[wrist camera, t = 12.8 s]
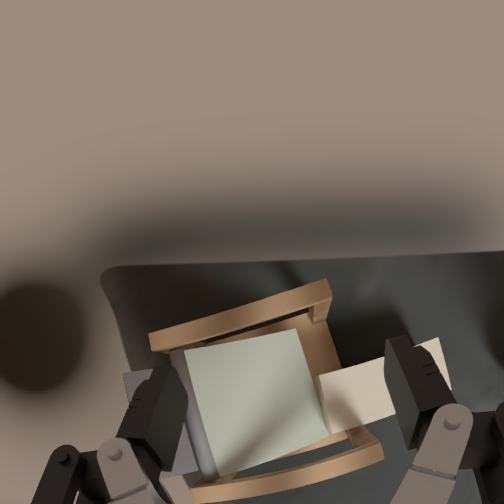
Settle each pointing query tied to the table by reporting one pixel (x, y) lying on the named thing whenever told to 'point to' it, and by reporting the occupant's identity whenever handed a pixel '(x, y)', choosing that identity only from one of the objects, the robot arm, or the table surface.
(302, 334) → the frame
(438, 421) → the robot arm
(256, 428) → the door
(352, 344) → the table surface
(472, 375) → the table surface
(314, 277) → the table surface
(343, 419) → the block
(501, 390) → the table surface
